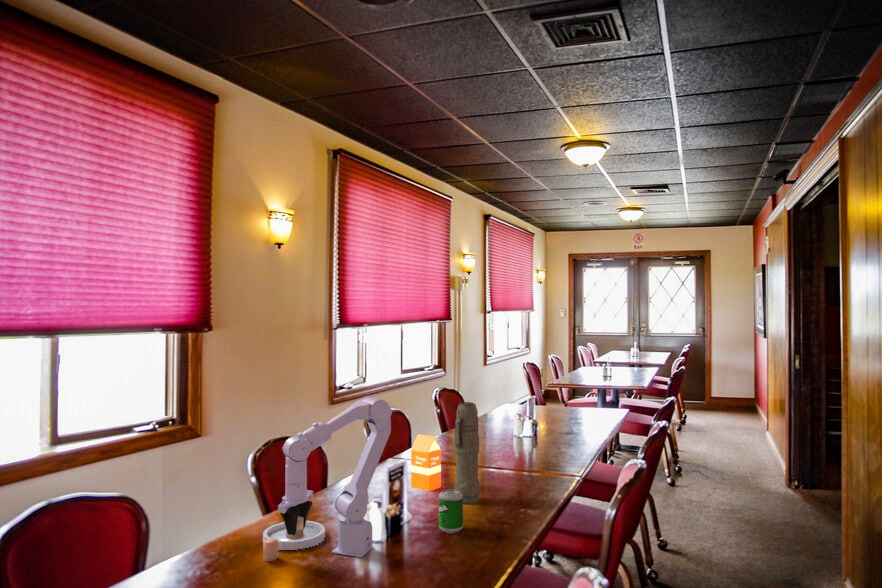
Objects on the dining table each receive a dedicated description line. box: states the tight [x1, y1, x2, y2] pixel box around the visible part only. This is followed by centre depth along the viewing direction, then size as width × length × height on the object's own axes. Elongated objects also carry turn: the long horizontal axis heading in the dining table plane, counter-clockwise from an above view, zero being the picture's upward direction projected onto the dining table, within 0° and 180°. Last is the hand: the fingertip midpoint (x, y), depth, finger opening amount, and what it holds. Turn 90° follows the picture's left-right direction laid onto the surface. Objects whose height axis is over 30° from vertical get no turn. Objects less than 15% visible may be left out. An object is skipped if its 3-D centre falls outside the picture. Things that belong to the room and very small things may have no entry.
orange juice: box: [410, 433, 442, 492], centre depth 245 cm, size 8×9×20 cm
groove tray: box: [262, 520, 326, 551], centre depth 190 cm, size 18×18×2 cm
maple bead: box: [289, 516, 303, 540], centre depth 174 cm, size 4×4×5 cm
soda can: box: [438, 488, 464, 534], centre depth 198 cm, size 8×8×12 cm
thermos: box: [454, 401, 481, 505], centre depth 228 cm, size 9×12×35 cm
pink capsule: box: [262, 538, 279, 563], centre depth 176 cm, size 4×4×5 cm
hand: (296, 531), depth 174 cm, fingers closed on maple bead, 4 cm apart
